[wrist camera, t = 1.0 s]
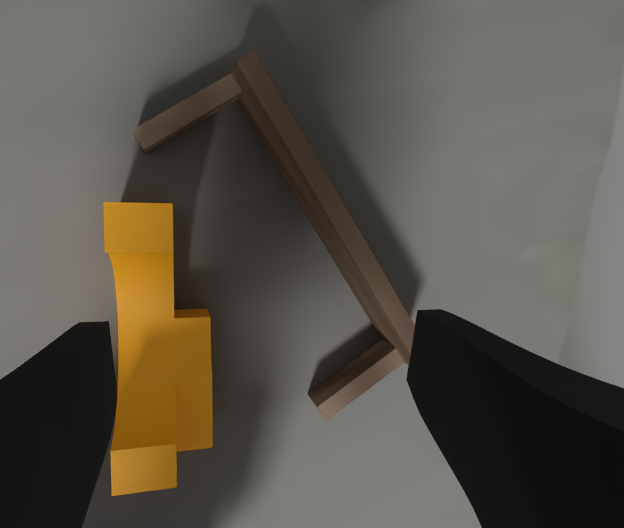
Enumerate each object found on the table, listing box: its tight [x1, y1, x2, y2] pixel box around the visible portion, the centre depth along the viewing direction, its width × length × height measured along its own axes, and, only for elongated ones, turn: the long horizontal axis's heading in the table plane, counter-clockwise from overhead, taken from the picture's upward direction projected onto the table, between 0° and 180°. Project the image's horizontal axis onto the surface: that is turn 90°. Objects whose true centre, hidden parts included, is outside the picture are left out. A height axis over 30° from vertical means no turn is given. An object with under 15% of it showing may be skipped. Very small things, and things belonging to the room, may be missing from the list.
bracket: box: [131, 50, 415, 421], centre depth 25 cm, size 6×18×4 cm, turn 32°
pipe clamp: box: [103, 202, 213, 496], centre depth 23 cm, size 12×4×6 cm, turn 179°
